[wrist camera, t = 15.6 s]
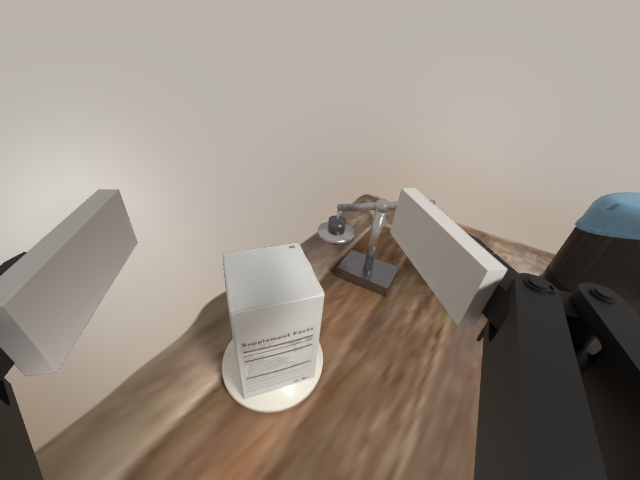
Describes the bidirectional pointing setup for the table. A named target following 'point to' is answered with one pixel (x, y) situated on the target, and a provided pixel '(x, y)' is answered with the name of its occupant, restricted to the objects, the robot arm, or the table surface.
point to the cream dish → (271, 400)
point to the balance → (357, 264)
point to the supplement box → (273, 316)
